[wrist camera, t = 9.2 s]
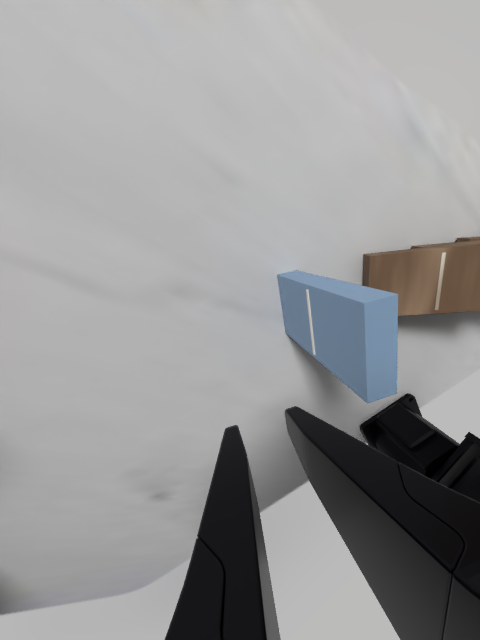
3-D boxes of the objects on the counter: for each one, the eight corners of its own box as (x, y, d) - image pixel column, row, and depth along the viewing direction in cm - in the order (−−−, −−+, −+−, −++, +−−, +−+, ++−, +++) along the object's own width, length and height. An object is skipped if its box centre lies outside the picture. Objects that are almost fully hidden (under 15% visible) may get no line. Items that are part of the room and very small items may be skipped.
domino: (363, 254, 21) (507, 238, 19) (361, 311, 22) (493, 302, 20) (370, 256, 19) (527, 239, 17) (367, 317, 21) (511, 309, 19)
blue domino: (296, 270, 20) (399, 293, 10) (303, 328, 21) (397, 393, 12) (276, 275, 19) (363, 303, 10) (285, 333, 21) (366, 403, 12)
